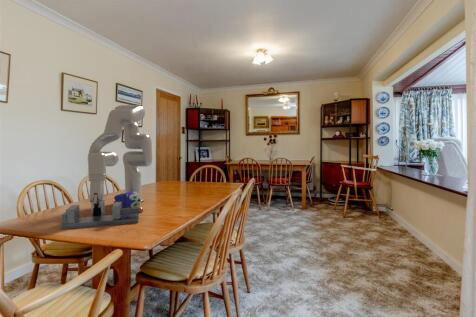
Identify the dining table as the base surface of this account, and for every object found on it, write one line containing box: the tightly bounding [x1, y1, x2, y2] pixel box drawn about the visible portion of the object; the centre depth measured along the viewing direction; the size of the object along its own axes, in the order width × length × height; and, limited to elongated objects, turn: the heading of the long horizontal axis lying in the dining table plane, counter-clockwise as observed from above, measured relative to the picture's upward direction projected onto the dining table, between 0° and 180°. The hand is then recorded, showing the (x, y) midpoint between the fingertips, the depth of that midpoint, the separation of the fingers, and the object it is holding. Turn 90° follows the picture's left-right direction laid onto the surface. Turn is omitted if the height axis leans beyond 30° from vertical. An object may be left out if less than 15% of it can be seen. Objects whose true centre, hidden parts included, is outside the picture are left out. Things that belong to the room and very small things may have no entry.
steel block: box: [90, 199, 106, 217], centre depth 130 cm, size 5×5×8 cm
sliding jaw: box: [112, 202, 144, 219], centre depth 125 cm, size 9×13×6 cm
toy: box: [113, 192, 142, 209], centre depth 146 cm, size 10×17×15 cm
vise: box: [61, 204, 140, 230], centre depth 121 cm, size 10×30×8 cm, turn 108°
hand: (98, 214), depth 131 cm, fingers closed on steel block, 5 cm apart
